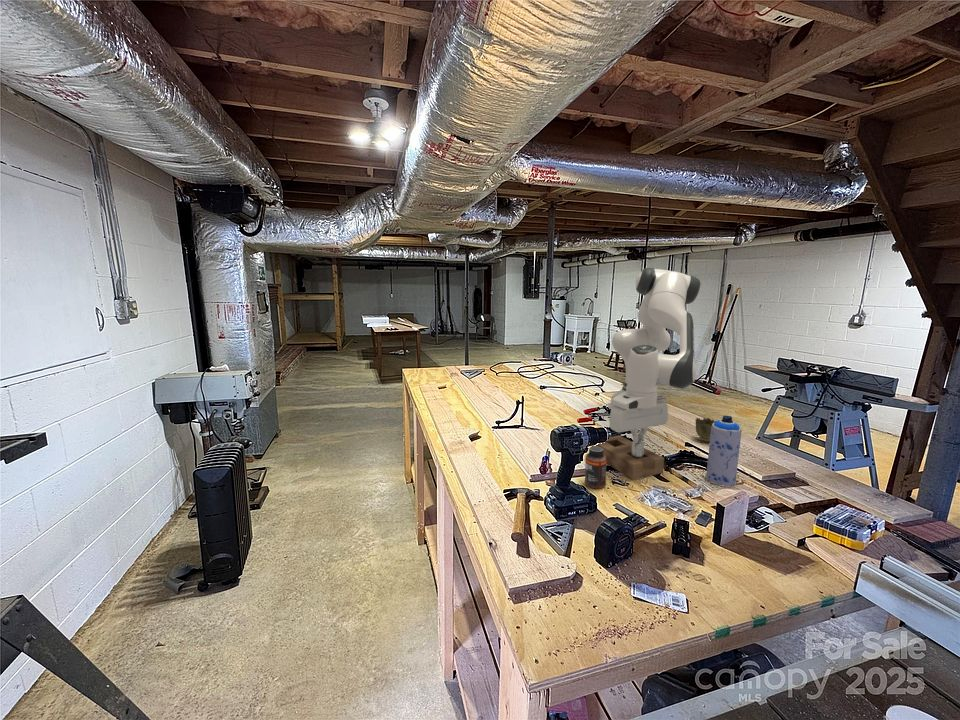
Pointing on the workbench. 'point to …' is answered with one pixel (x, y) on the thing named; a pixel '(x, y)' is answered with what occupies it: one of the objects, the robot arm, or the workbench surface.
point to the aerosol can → (723, 452)
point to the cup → (704, 428)
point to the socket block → (631, 459)
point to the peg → (637, 449)
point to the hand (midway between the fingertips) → (638, 440)
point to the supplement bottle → (595, 468)
